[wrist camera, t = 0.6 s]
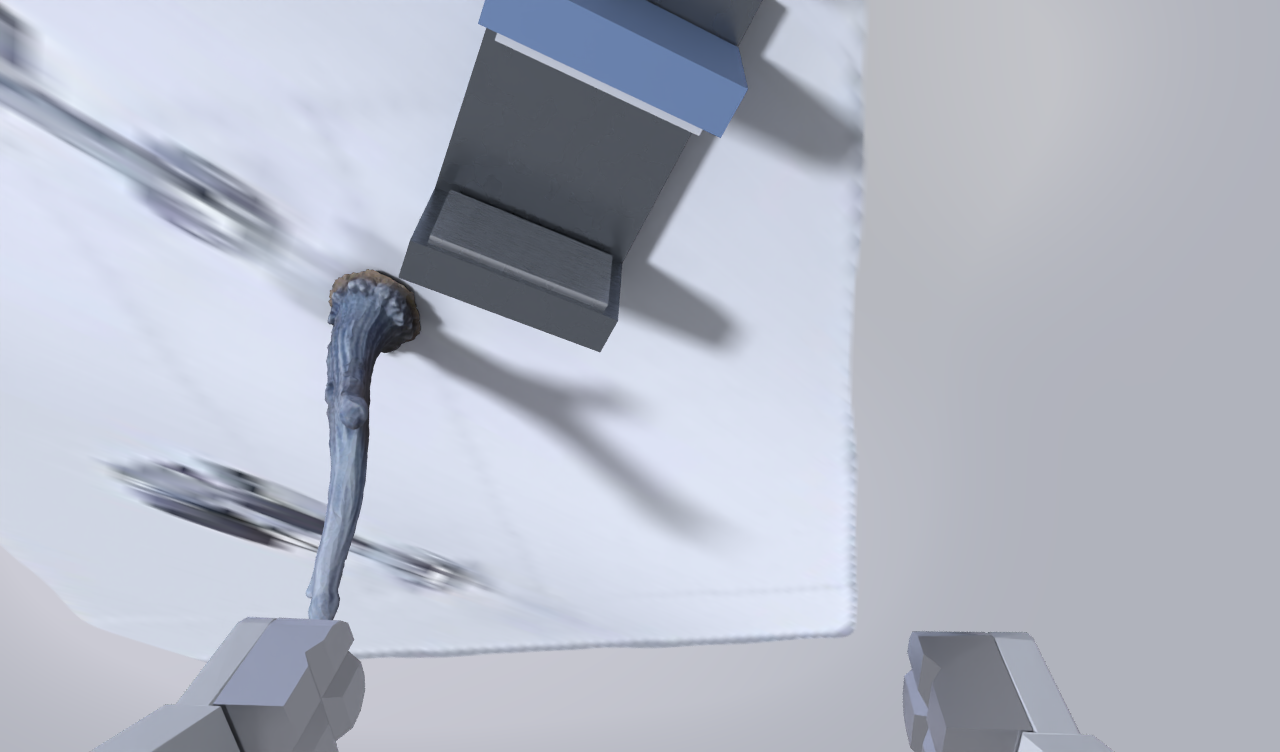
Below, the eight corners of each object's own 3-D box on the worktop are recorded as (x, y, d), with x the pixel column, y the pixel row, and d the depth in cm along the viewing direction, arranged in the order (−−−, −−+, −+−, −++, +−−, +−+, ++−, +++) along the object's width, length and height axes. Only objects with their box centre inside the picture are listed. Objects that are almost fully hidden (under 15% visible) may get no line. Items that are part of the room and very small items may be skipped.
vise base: (539, -130, 42) (516, -101, 36) (761, -11, 46) (777, 35, 39) (428, 211, 56) (398, 277, 49) (606, 282, 59) (600, 352, 53)
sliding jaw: (516, -66, 42) (496, -36, 37) (738, 47, 46) (747, 89, 41) (495, -2, 45) (474, 34, 40) (709, 101, 48) (715, 147, 43)
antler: (316, 272, 59) (155, 535, 41) (414, 260, 59) (295, 523, 40) (372, 384, 67) (258, 650, 48) (460, 375, 66) (379, 642, 47)
